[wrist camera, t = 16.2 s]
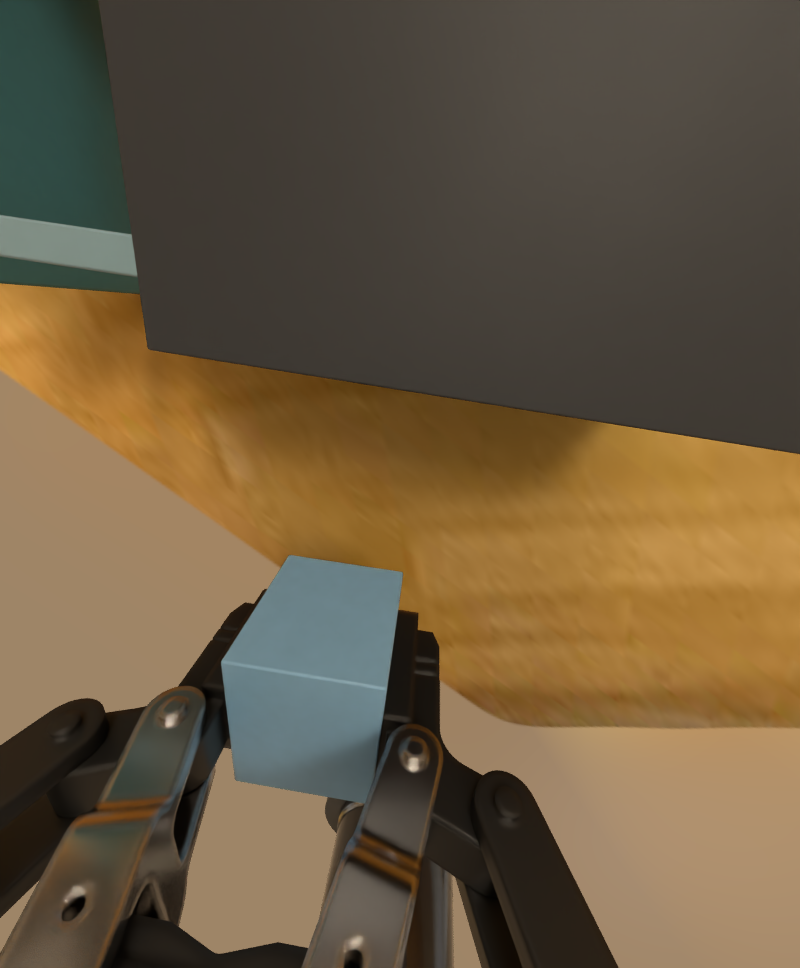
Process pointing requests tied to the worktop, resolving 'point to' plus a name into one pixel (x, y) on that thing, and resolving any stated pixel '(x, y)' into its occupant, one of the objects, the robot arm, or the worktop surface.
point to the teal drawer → (60, 152)
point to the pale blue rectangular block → (313, 678)
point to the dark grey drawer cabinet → (476, 199)
